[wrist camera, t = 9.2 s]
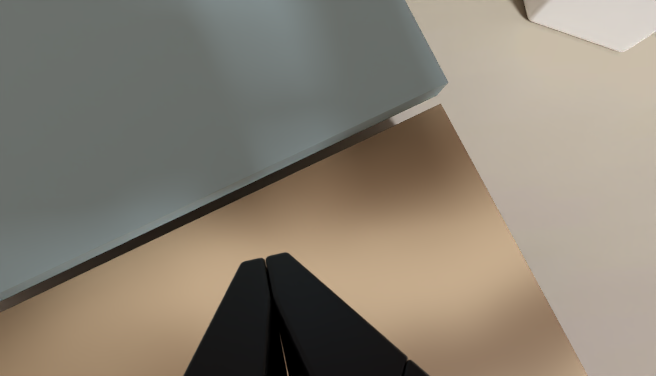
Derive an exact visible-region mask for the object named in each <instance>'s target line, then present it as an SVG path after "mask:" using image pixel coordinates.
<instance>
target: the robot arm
mask: <svg viewBox="0 0 656 376" xmlns="http://www.w3.org/2000/svg"><path fill="white" fill-rule="evenodd" d="M265 260H266V263H265ZM265 260H264V259H263V258H257V259H252V260H248V261H244V262H242V263H241V264H240V266H239V267H238V269H237V271H236V273H235V275H234V277H233V279H232V281H231V283H230V285H229V287H228V289H227V291H226V293H225V295H224V297H223V299H222V301H221V303H220V305H219V307H218V309H217V310H216V312H215V314H214V316H213V318H212V320H211V322H210V324H209V326H208V328H207V330H206V332H205V334H204V336H203V338H202V340H201V342H200V344H199V346H198V348H197V350H196V351H195V353H194V355H193V357H192V359H191V361H190V363H189V365H188V367H187V369H186V371H185V373H184V375H183V376H288V375H289V376H430V375H429V374H427V373H426V372H425V371H424V370H423V369H422V368H421V367H419V366H418V365H417V364H416V363H415V362H414V361H413V360H408V357H407V355H405V354H404V353H403V352H402V351H401V350H400V349H399V348H397V347H396V346H395V345H394V344H393V343H392V342H390V341H389V340H388V339H387V338H386V337H385V336H384V335H382V334H381V333H380V332H379V331H378V330H377V329H376V328H374V327H373V326H372V325H371V324H370V323H369V322H367V321H366V320H365V319H364V318H363V317H362V316H361V315H359V314H358V313H357V312H356V311H355V310H354V309H353V308H351V307H350V306H349V305H348V304H347V303H346V302H344V301H343V300H342V299H341V298H340V297H339V296H338V295H336V294H335V293H334V292H333V291H332V290H331V289H330V288H328V287H327V286H326V285H325V284H324V283H323V282H321V281H320V280H319V279H318V278H317V277H316V276H315V275H313V274H312V273H311V272H310V271H309V270H308V269H307V268H305V267H304V266H303V265H302V264H301V263H300V262H298V261H297V260H296V259H295V258H294V257H293V256H292V255H290V254H289V253H287V252H284V253H279V254H275V255H270V256H267V257H266V259H265ZM280 337H281V338H280ZM281 342H282V343H281ZM282 347H283V348H282ZM283 352H284V353H283ZM284 357H285V358H284ZM285 362H286V363H285ZM286 367H287V369H286ZM287 371H288V375H287Z"/></svg>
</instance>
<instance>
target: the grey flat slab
mask: <svg viewBox="0 0 656 376" xmlns="http://www.w3.org/2000/svg"><path fill="white" fill-rule="evenodd" d="M447 83H448V81H447V79H446V77H445V75H444V73H443V71H442V70H441V68H440V66H439V64H438V62H437V60H436V58H435V56H434V54H433V52H432V51H431V49H430V47H429V45H428V43H427V41H426V39H425V37H424V35H423V34H422V32H421V30H420V28H419V26H418V24H417V22H416V20H415V18H414V17H413V15H412V13H411V11H410V9H409V7H408V5H407V3H406V1H405V0H0V301H2V300H4V299H6V298H8V297H11V296H13V295H15V294H17V293H19V292H21V291H23V290H25V289H27V288H30V287H32V286H34V285H36V284H38V283H40V282H42V281H44V280H47V279H49V278H51V277H53V276H55V275H57V274H59V273H61V272H64V271H66V270H68V269H70V268H72V267H74V266H76V265H78V264H80V263H83V262H85V261H87V260H89V259H91V258H93V257H95V256H97V255H100V254H102V253H104V252H106V251H108V250H110V249H112V248H114V247H117V246H119V245H121V244H123V243H125V242H127V241H129V240H131V239H133V238H136V237H138V236H140V235H142V234H144V233H146V232H148V231H150V230H153V229H155V228H157V227H159V226H161V225H163V224H165V223H167V222H169V221H172V220H174V219H176V218H178V217H180V216H182V215H184V214H186V213H189V212H191V211H193V210H195V209H197V208H199V207H201V206H203V205H206V204H208V203H210V202H212V201H214V200H216V199H218V198H220V197H222V196H225V195H227V194H229V193H231V192H233V191H235V190H237V189H239V188H242V187H244V186H246V185H248V184H250V183H252V182H254V181H256V180H259V179H261V178H263V177H265V176H267V175H269V174H271V173H273V172H275V171H278V170H280V169H282V168H284V167H286V166H288V165H290V164H292V163H295V162H297V161H299V160H301V159H303V158H305V157H307V156H309V155H311V154H314V153H316V152H318V151H320V150H322V149H324V148H326V147H328V146H331V145H333V144H335V143H337V142H339V141H341V140H343V139H345V138H348V137H350V136H352V135H354V134H356V133H358V132H360V131H362V130H364V129H367V128H369V127H371V126H373V125H375V124H377V123H379V122H381V121H384V120H386V119H388V118H390V117H392V116H394V115H396V114H398V113H401V112H403V111H405V110H407V109H409V108H411V107H413V106H415V105H417V104H420V103H422V102H424V101H426V100H428V99H430V98H432V97H434V96H437V94H438V93H439V92H440V91H441V90H442V89H443V88H444V87H445V85H446V84H447Z"/></svg>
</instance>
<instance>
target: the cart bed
mask: <svg viewBox="0 0 656 376" xmlns="http://www.w3.org/2000/svg"><path fill="white" fill-rule="evenodd" d="M284 252H287V253H289V254H290V255H292V256H293V257H294V258H295V259H296V260H297V261H298V262H300V263H301V264H302V265H303V266H304V267H305V268H307V269H308V270H309V271H310V272H311V273H312V274H313V275H315V276H316V277H317V278H318V279H319V280H320V281H321V282H323V283H324V284H325V285H326V286H327V287H328V288H330V289H331V290H332V291H333V292H334V293H335V294H336V295H338V296H339V297H340V298H341V299H342V300H343V301H344V302H346V303H347V304H348V305H349V306H350V307H351V308H353V309H354V310H355V311H356V312H357V313H358V314H359V315H361V316H362V317H363V318H364V319H365V320H366V321H367V322H369V323H370V324H371V325H372V326H373V327H374V328H376V329H377V330H378V331H379V332H380V333H381V334H382V335H384V336H385V337H386V338H387V339H388V340H389V341H390V342H392V343H393V344H394V345H395V346H396V347H397V348H399V349H400V350H401V351H402V352H403V353H404V354H405V355H407V357H408V360H413V361H414V362H415V363H416V364H417V365H418V366H419V367H421V368H422V369H423V370H424V371H425V372H426V373H427V374H429V375H430V376H588V375H587V373H586V371H585V370H584V368H583V366H582V364H581V362H580V360H579V359H578V357H577V355H576V353H575V351H574V349H573V347H572V346H571V344H570V342H569V340H568V338H567V336H566V334H565V333H564V331H563V329H562V327H561V325H560V323H559V322H558V320H557V318H556V316H555V314H554V312H553V310H552V309H551V307H550V305H549V303H548V301H547V299H546V297H545V296H544V294H543V292H542V290H541V288H540V286H539V285H538V283H537V281H536V279H535V277H534V275H533V273H532V272H531V270H530V268H529V266H528V264H527V262H526V260H525V259H524V257H523V255H522V253H521V251H520V249H519V247H518V246H517V244H516V242H515V240H514V238H513V236H512V235H511V233H510V231H509V229H508V227H507V225H506V223H505V222H504V220H503V218H502V216H501V214H500V212H499V210H498V209H497V207H496V205H495V203H494V201H493V199H492V198H491V196H490V194H489V192H488V190H487V188H486V186H485V185H484V183H483V181H482V179H481V177H480V175H479V173H478V172H477V170H476V168H475V166H474V164H473V162H472V161H471V159H470V157H469V155H468V153H467V151H466V149H465V148H464V146H463V144H462V142H461V140H460V138H459V136H458V135H457V133H456V131H455V129H454V127H453V125H452V124H451V122H450V120H449V118H448V116H447V114H446V112H445V111H444V109H443V107H442V105H441V104H439V105H437V106H435V107H433V108H431V109H428V110H426V111H424V112H422V113H420V114H418V115H416V116H414V117H412V118H409V119H407V120H405V121H403V122H401V123H399V124H397V125H395V126H393V127H390V128H388V129H386V130H384V131H382V132H380V133H378V134H376V135H374V136H371V137H369V138H367V139H365V140H363V141H361V142H359V143H357V144H355V145H353V146H350V147H348V148H346V149H344V150H342V151H340V152H338V153H336V154H334V155H331V156H329V157H327V158H325V159H323V160H321V161H319V162H317V163H315V164H312V165H310V166H308V167H306V168H304V169H302V170H300V171H298V172H296V173H293V174H291V175H289V176H287V177H285V178H283V179H281V180H279V181H277V182H274V183H272V184H270V185H268V186H266V187H264V188H262V189H260V190H258V191H255V192H253V193H251V194H249V195H247V196H245V197H243V198H241V199H239V200H237V201H234V202H232V203H230V204H228V205H226V206H224V207H222V208H220V209H218V210H215V211H213V212H211V213H209V214H207V215H205V216H203V217H201V218H199V219H196V220H194V221H192V222H190V223H188V224H186V225H184V226H182V227H180V228H177V229H175V230H173V231H171V232H169V233H167V234H165V235H163V236H161V237H158V238H156V239H154V240H152V241H150V242H148V243H146V244H144V245H142V246H140V247H137V248H135V249H133V250H131V251H129V252H127V253H125V254H123V255H121V256H118V257H116V258H114V259H112V260H110V261H108V262H106V263H104V264H102V265H99V266H97V267H95V268H93V269H91V270H89V271H87V272H85V273H83V274H80V275H78V276H76V277H74V278H72V279H70V280H68V281H66V282H64V283H61V284H59V285H57V286H55V287H53V288H51V289H49V290H47V291H45V292H42V293H40V294H38V295H36V296H34V297H32V298H30V299H28V300H26V301H24V302H21V303H19V304H17V305H15V306H13V307H11V308H9V309H7V310H5V311H2V312H0V376H183V375H184V373H185V371H186V369H187V367H188V365H189V363H190V361H191V359H192V357H193V355H194V353H195V351H196V350H197V348H198V346H199V344H200V342H201V340H202V338H203V336H204V334H205V332H206V330H207V328H208V326H209V324H210V322H211V320H212V318H213V316H214V314H215V312H216V310H217V309H218V307H219V305H220V303H221V301H222V299H223V297H224V295H225V293H226V291H227V289H228V287H229V285H230V283H231V281H232V279H233V277H234V275H235V273H236V271H237V269H238V267H239V266H240V264H241V263H242V262H244V261H248V260H252V259H257V258H263V259H264V260H265V259H266V257H267V256H270V255H275V254H279V253H284ZM265 263H266V260H265ZM280 338H281V337H280ZM281 343H282V342H281ZM282 348H283V347H282ZM283 353H284V352H283ZM284 358H285V357H284ZM285 363H286V362H285ZM286 369H287V367H286ZM287 375H288V371H287ZM288 376H289V375H288Z"/></svg>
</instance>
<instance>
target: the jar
mask: <svg viewBox="0 0 656 376" xmlns="http://www.w3.org/2000/svg"><path fill="white" fill-rule="evenodd" d="M523 1H524V5H525V9H526V13H527V17H528V19H529V20H530V21H531V22H534V23H537V24H540V25H543V26H546V27H549V28H552V29H554V30H557V31H560V32H563V33H566V34H569V35H572V36H575V37H578V38H580V39H583V40H586V41H589V42H592V43H595V44H598V45H601V46H603V47H606V48H609V49H612V50H615V51H618V52H624V51H627V50H628V49H630V48H631V47H633V46H634V45H636V44H638V43H639V42H641V41H642V40H644V39H645V38H647V37H649V36H650V35H652V34H653V33H655V32H656V0H523Z"/></svg>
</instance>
